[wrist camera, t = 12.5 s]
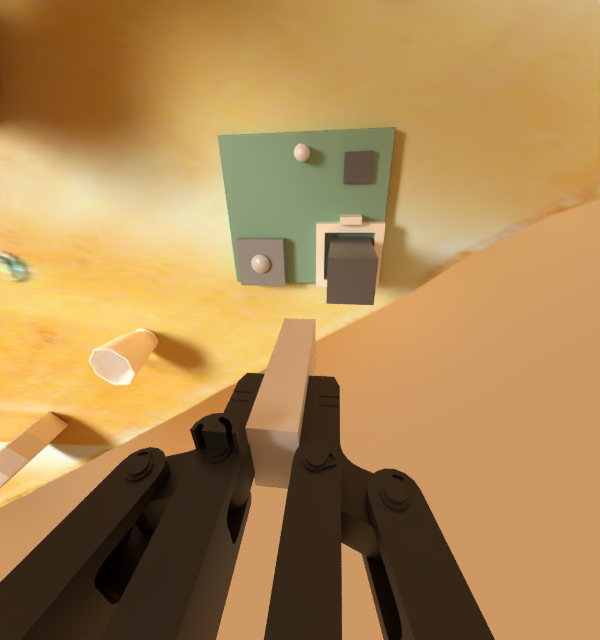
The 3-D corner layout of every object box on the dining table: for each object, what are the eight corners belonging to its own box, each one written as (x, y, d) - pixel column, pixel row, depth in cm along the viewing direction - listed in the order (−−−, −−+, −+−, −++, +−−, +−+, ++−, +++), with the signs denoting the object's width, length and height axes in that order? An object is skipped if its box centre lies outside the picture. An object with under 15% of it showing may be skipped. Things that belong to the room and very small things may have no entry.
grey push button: (241, 235, 36) (234, 239, 34) (313, 235, 35) (311, 240, 33) (246, 278, 39) (240, 285, 37) (313, 280, 38) (311, 287, 35)
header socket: (317, 214, 33) (315, 217, 31) (384, 214, 32) (387, 216, 30) (316, 282, 37) (315, 289, 35) (376, 284, 36) (378, 291, 34)
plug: (331, 236, 34) (327, 258, 25) (368, 236, 33) (378, 258, 24) (330, 272, 36) (326, 303, 27) (365, 273, 35) (373, 305, 26)
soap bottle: (52, 405, 59) (-69, 501, 42) (73, 420, 61) (-35, 519, 43) (26, 432, 66) (-89, 526, 48) (46, 445, 67) (-58, 541, 50)
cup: (174, 347, 47) (144, 377, 40) (136, 366, 50) (102, 398, 43) (145, 314, 45) (108, 340, 37) (107, 337, 48) (67, 365, 41)
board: (221, 136, 31) (211, 133, 29) (393, 129, 29) (398, 124, 26) (240, 278, 39) (233, 285, 37) (376, 281, 37) (378, 289, 34)
